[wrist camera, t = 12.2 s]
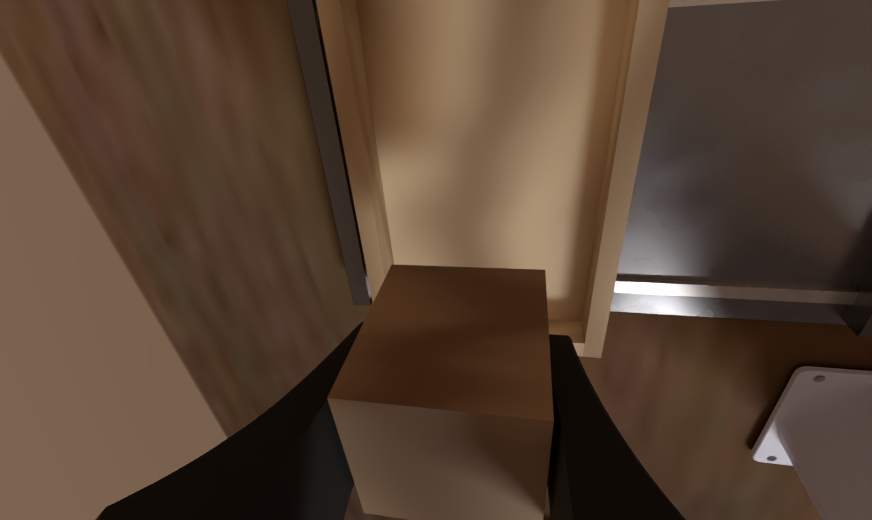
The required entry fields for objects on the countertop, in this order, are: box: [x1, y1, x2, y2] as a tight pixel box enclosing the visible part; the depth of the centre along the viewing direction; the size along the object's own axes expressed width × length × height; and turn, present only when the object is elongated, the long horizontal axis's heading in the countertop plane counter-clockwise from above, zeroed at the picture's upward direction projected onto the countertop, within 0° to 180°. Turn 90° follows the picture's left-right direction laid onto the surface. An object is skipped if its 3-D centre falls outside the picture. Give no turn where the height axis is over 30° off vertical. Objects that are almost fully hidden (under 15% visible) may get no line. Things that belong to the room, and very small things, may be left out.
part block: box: [327, 264, 554, 520], centre depth 12 cm, size 4×4×5 cm
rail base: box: [287, 0, 872, 338], centre depth 18 cm, size 25×16×2 cm, turn 94°
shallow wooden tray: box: [316, 0, 670, 358], centre depth 18 cm, size 11×16×3 cm
